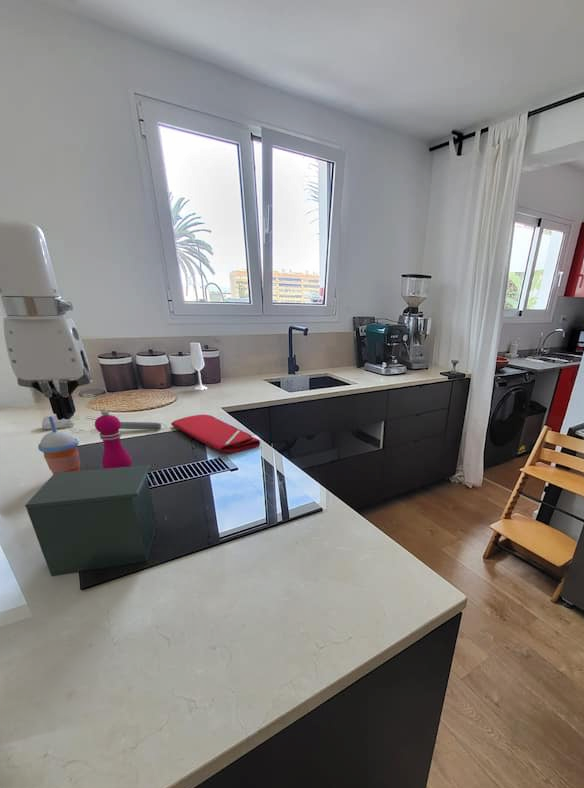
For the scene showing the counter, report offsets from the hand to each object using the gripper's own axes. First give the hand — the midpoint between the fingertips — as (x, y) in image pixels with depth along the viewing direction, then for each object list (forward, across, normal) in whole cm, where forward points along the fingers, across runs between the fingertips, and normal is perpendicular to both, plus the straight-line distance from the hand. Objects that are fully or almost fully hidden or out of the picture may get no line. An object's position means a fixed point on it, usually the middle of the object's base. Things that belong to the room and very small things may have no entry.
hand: (66, 417), depth 71 cm
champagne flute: (+29, -11, -149) cm, 152 cm away
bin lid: (+14, -2, 0) cm, 14 cm away
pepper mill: (+29, +5, -38) cm, 48 cm away
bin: (+29, -1, 0) cm, 29 cm away
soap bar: (+29, +38, -92) cm, 104 cm away
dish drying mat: (+29, -20, -68) cm, 77 cm away
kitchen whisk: (+29, +15, -82) cm, 88 cm away
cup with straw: (+29, +19, -41) cm, 54 cm away
